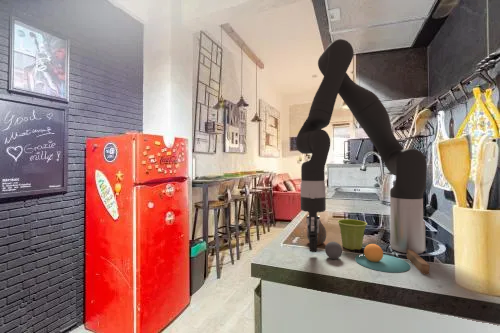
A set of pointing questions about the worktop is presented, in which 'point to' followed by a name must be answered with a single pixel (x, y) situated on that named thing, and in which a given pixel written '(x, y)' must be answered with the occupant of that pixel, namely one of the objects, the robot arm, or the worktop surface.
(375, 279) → the worktop surface
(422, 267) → the rail
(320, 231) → the brown oval solid
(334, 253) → the gray ball
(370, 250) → the orange ball
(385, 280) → the worktop surface
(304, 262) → the worktop surface
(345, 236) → the plant pot
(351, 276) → the worktop surface
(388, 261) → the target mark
